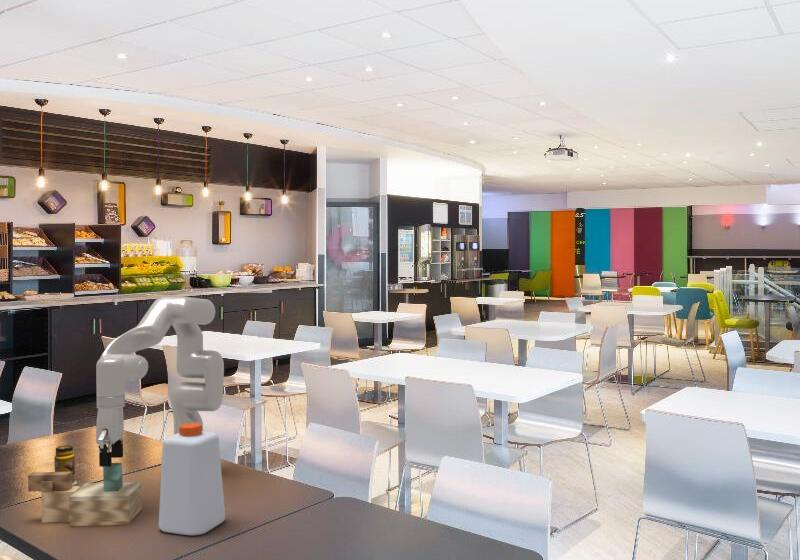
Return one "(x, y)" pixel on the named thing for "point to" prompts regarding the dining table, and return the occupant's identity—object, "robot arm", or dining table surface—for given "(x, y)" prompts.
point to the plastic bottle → (191, 482)
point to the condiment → (65, 461)
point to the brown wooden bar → (60, 480)
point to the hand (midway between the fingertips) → (111, 461)
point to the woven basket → (86, 508)
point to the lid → (107, 487)
